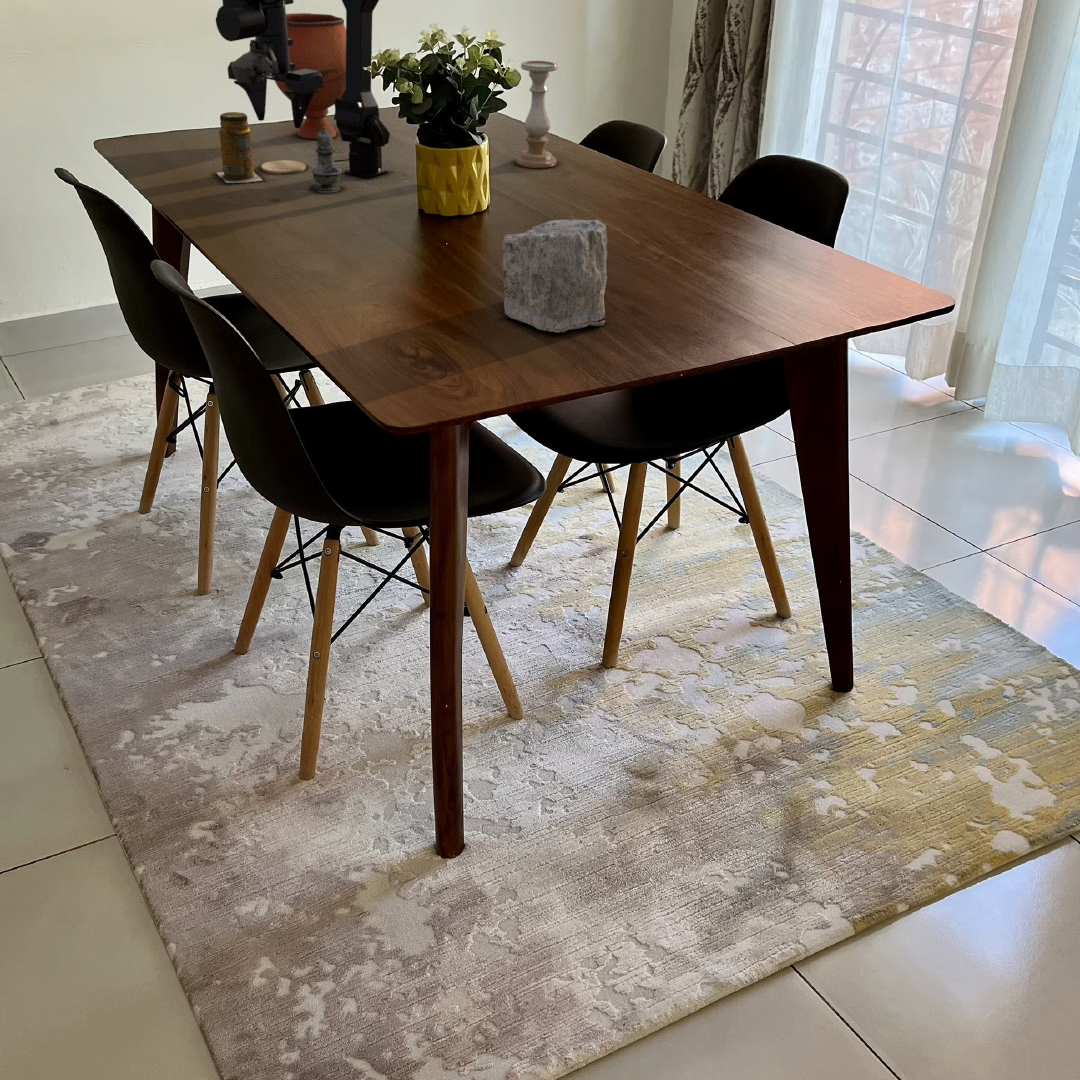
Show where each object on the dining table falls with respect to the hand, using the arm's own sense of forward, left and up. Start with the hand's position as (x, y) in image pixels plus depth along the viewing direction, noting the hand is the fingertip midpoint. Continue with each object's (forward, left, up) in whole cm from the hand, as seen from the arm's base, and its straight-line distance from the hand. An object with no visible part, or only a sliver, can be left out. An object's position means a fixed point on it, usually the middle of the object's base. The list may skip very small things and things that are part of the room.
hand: (279, 124), depth 219 cm
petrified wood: (+18, +74, -14) cm, 77 cm away
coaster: (-16, -16, -14) cm, 27 cm away
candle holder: (-54, +22, -14) cm, 60 cm away
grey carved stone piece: (-10, +2, -14) cm, 17 cm away
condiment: (-5, -17, -14) cm, 23 cm away
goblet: (-42, -30, -14) cm, 54 cm away
